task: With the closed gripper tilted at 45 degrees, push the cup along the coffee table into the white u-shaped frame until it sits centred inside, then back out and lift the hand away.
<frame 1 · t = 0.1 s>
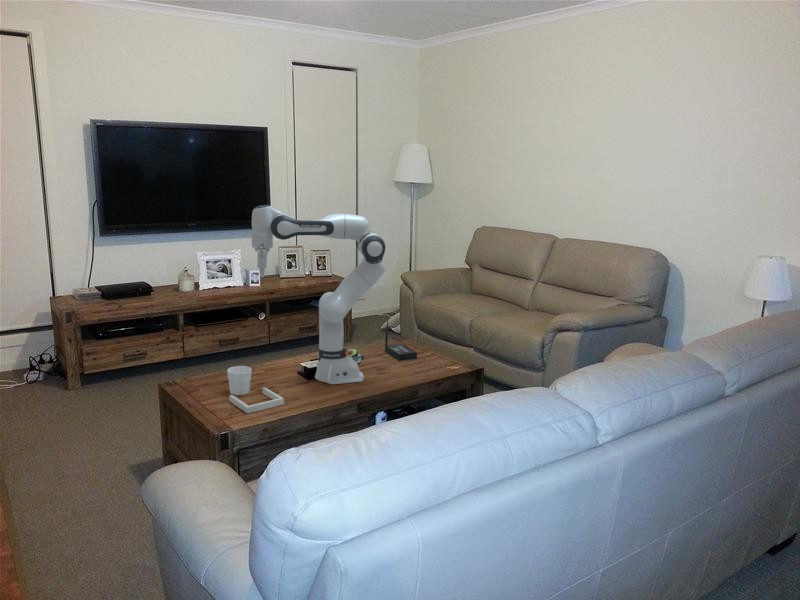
hand: (262, 274, 269), 48 cm above the table, tool pointing down, fingers open, 8 cm apart
cup: (239, 392, 263), on the table
wifi router: (398, 355, 326), on the table
white u-shaped frame: (255, 402, 253), on the table
salad plate: (345, 360, 312), on the table
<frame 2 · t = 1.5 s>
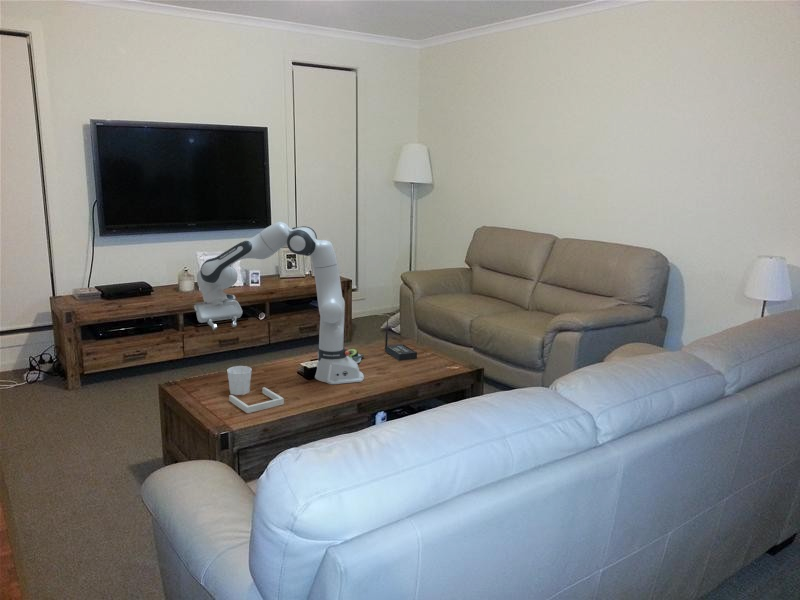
hand: (225, 327, 271), 24 cm above the table, tool tilted 45°, fingers open, 8 cm apart
nothing on the table moved.
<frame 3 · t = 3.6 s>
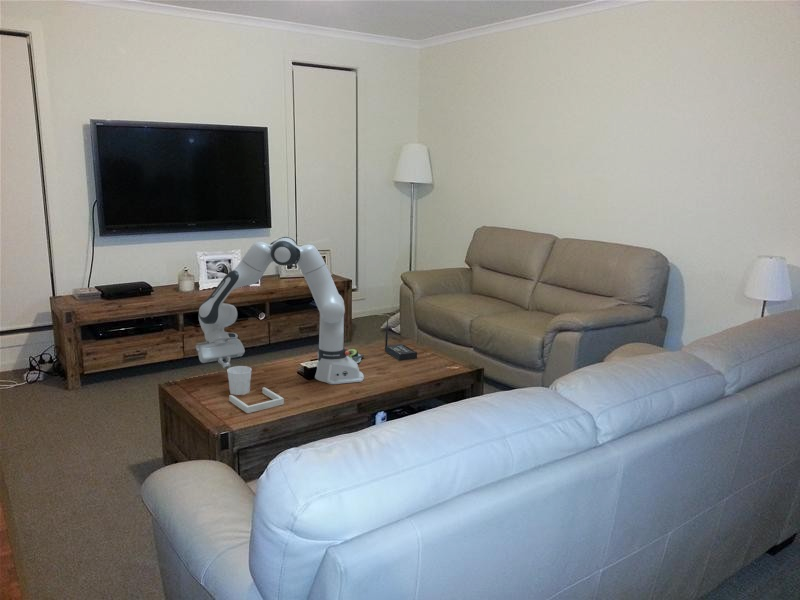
hand: (227, 367, 270), 8 cm above the table, tool tilted 45°, fingers closed
nothing on the table moved.
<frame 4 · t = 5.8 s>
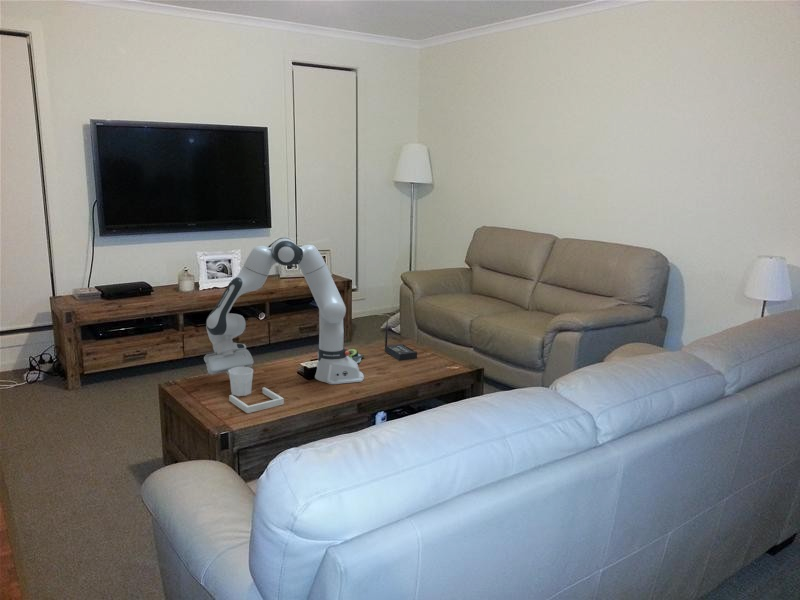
hand: (235, 378, 265), 5 cm above the table, tool tilted 45°, fingers closed, pressing on cup
cup: (241, 393, 262), on the table, touching gripper
everything else where it was.
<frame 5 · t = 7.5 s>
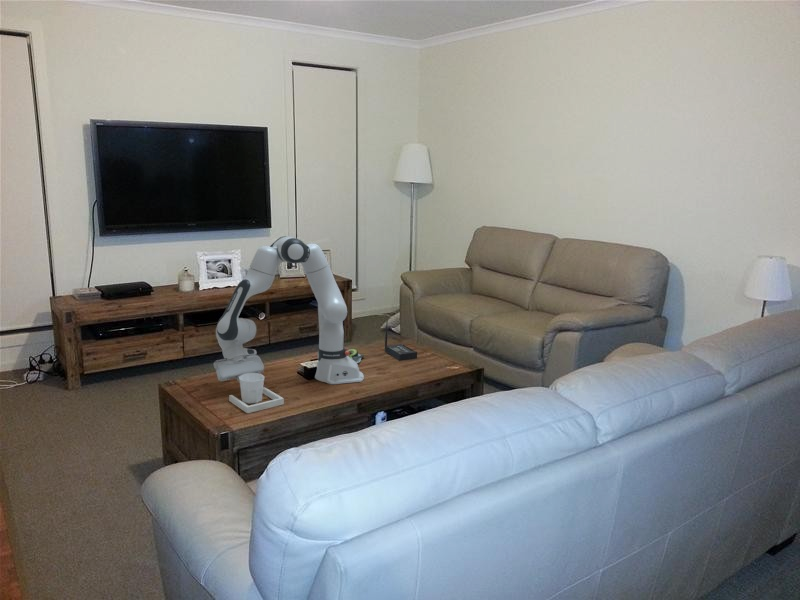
hand: (246, 385, 258), 5 cm above the table, tool tilted 45°, fingers closed, pressing on cup
cup: (251, 400, 255), on the table, touching gripper
everything else where it was.
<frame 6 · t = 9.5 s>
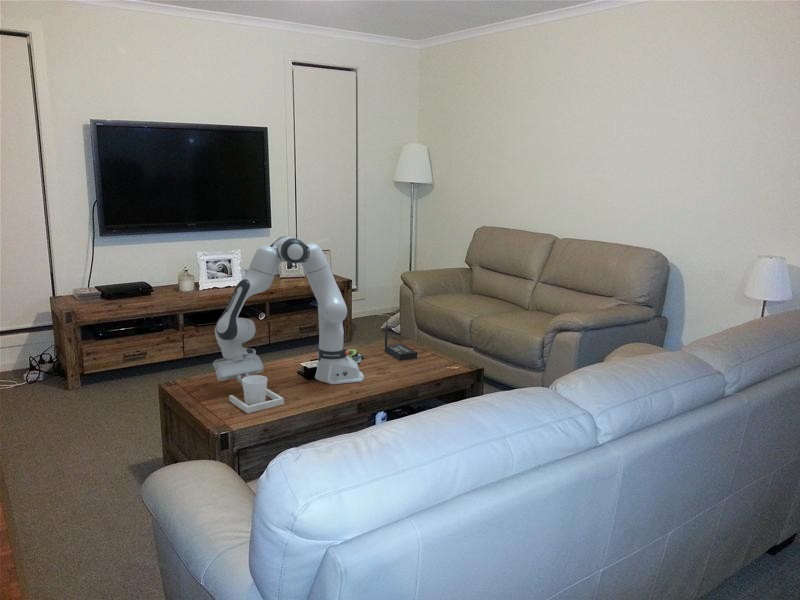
hand: (245, 384, 258), 5 cm above the table, tool tilted 45°, fingers closed
cup: (254, 402, 254), on the table
everything else where it was.
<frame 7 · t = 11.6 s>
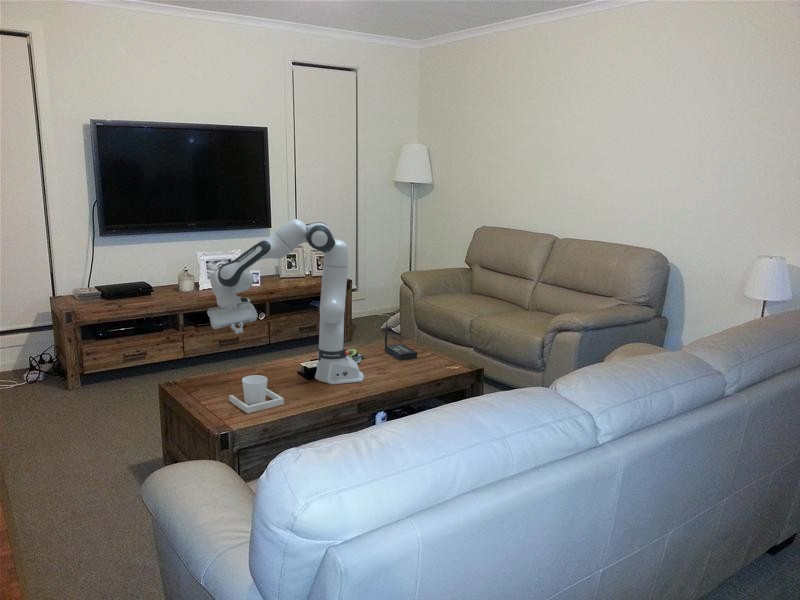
hand: (239, 333, 265), 24 cm above the table, tool tilted 40°, fingers closed
nothing on the table moved.
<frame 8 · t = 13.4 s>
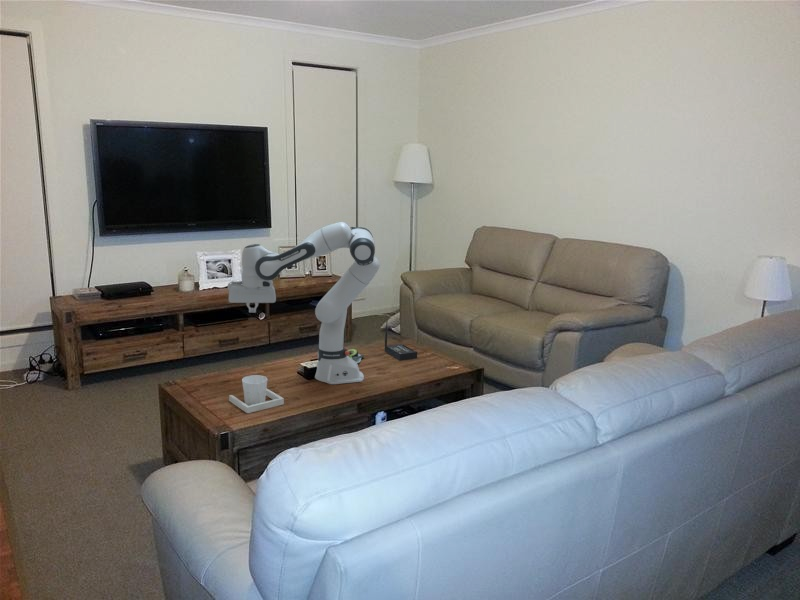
hand: (252, 312, 272), 31 cm above the table, tool pointing down, fingers closed
nothing on the table moved.
at the end: cup 0.4 cm from the white u-shaped frame (horizontally); cup tilted 0°; the gripper is holding nothing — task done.
